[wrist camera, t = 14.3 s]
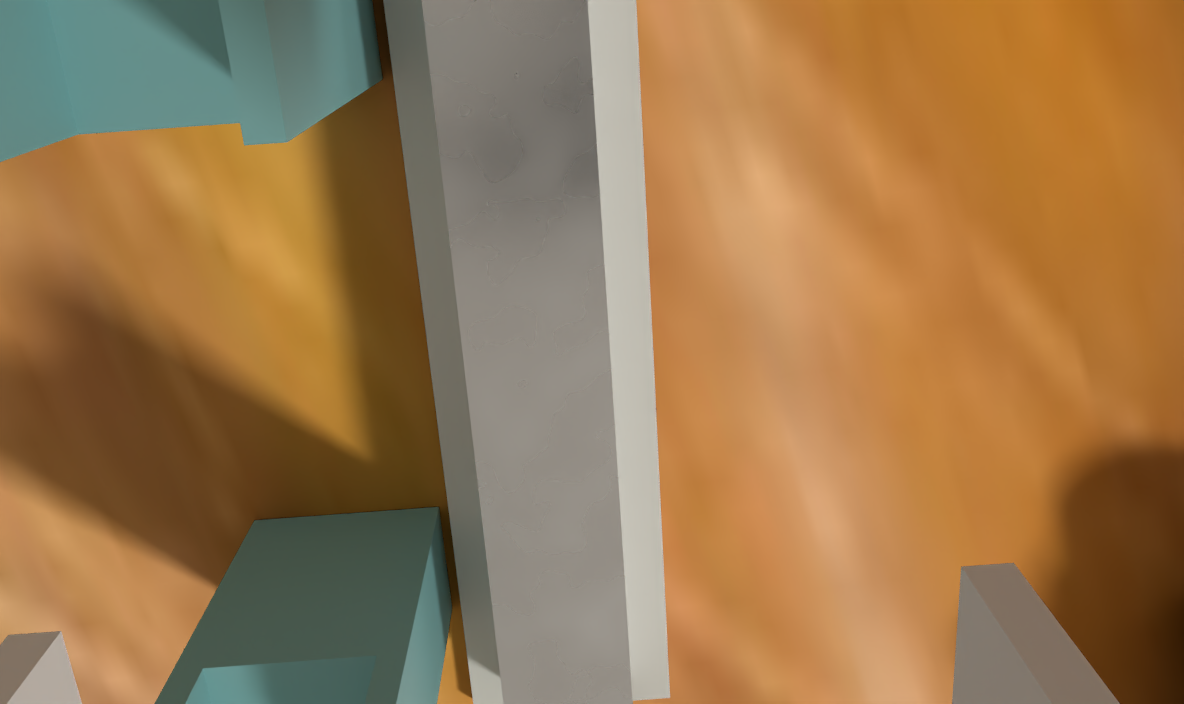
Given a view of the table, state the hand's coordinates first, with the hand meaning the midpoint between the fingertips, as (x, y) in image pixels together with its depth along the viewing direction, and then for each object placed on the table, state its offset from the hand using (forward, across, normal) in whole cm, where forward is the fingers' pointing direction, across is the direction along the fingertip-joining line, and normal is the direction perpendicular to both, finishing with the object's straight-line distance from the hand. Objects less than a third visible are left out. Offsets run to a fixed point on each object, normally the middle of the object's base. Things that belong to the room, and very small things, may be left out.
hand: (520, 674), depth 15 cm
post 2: (+18, -7, -9) cm, 22 cm away
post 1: (+18, -7, +9) cm, 22 cm away
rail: (+18, 0, 0) cm, 18 cm away
